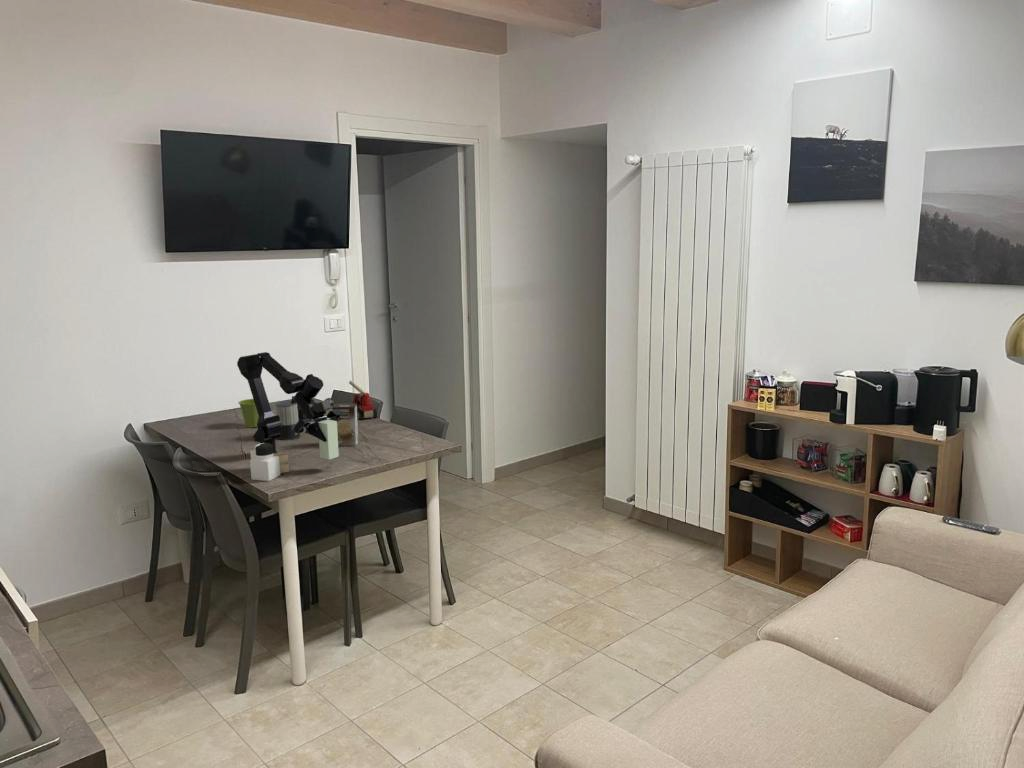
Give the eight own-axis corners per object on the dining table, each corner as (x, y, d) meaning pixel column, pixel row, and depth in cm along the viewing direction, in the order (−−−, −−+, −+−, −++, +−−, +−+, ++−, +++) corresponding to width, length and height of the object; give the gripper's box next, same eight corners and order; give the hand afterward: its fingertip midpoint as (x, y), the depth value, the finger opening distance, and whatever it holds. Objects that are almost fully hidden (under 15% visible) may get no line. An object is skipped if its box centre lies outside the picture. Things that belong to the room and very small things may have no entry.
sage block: (320, 457, 273) (317, 422, 271) (329, 454, 277) (327, 419, 274) (329, 459, 271) (327, 423, 268) (338, 456, 274) (336, 421, 272)
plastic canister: (251, 468, 278) (250, 449, 276) (266, 466, 279) (264, 448, 278) (252, 472, 273) (250, 453, 272) (266, 470, 275) (265, 451, 273)
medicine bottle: (280, 475, 269) (278, 442, 267) (269, 481, 262) (266, 447, 260) (263, 473, 271) (260, 440, 269) (251, 479, 264) (248, 446, 262)
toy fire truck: (369, 411, 363) (367, 375, 359) (377, 419, 349) (376, 380, 345) (345, 414, 358) (343, 377, 355) (353, 421, 344) (351, 383, 341)
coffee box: (333, 446, 304) (331, 407, 301) (336, 442, 311) (333, 403, 307) (356, 446, 305) (354, 406, 301) (359, 441, 311) (357, 403, 308)
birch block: (270, 470, 274) (269, 454, 273) (284, 468, 277) (283, 452, 276) (275, 474, 270) (274, 457, 269) (289, 471, 273) (288, 455, 272)
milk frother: (293, 440, 313) (291, 405, 310) (258, 439, 317) (255, 404, 314) (309, 432, 327) (307, 398, 324) (275, 430, 330) (273, 396, 327)
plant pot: (272, 422, 343) (270, 398, 341) (261, 429, 332) (259, 404, 329) (247, 422, 344) (245, 398, 342) (235, 429, 333) (233, 404, 331)
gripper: (297, 396, 264) (321, 432, 260) (337, 387, 279) (360, 420, 275) (283, 416, 269) (307, 451, 266) (323, 405, 285) (346, 438, 281)
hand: (331, 439), depth 272 cm, fingers closed on sage block, 5 cm apart
